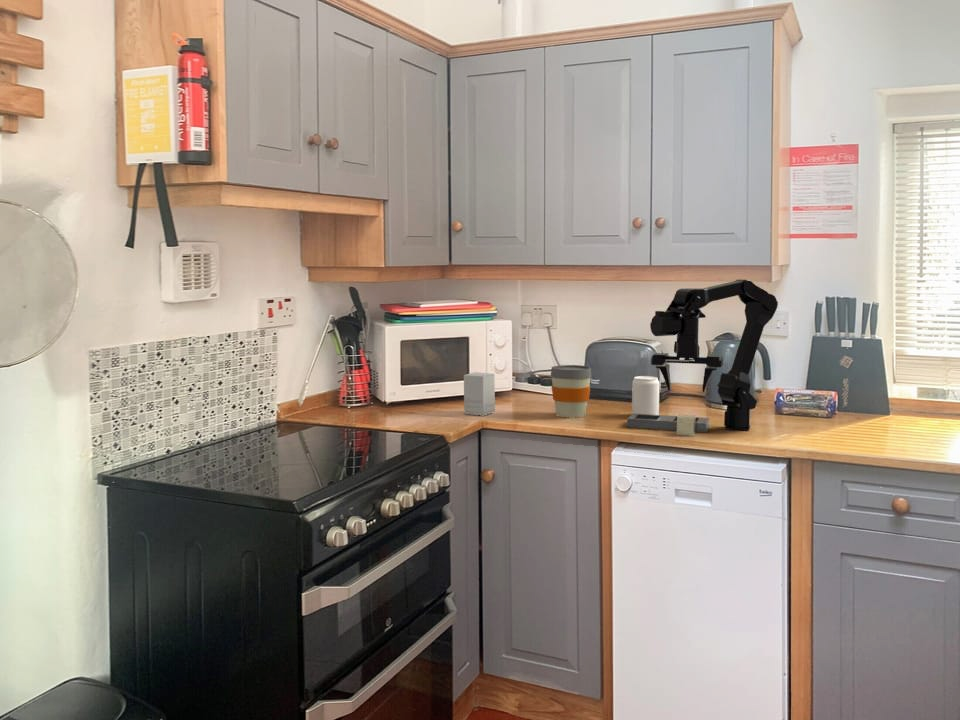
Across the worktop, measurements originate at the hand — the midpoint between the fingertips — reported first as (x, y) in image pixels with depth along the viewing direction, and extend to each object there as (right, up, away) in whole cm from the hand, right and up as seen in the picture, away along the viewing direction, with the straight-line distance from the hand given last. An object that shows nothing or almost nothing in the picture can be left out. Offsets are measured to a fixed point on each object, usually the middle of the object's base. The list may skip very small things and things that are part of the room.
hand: (686, 391), depth 232 cm
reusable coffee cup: (-29, -9, +29) cm, 42 cm away
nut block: (0, -12, +1) cm, 12 cm away
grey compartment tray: (-3, -11, +11) cm, 15 cm away
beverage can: (-6, -9, +27) cm, 29 cm away
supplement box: (-57, -9, +34) cm, 67 cm away
